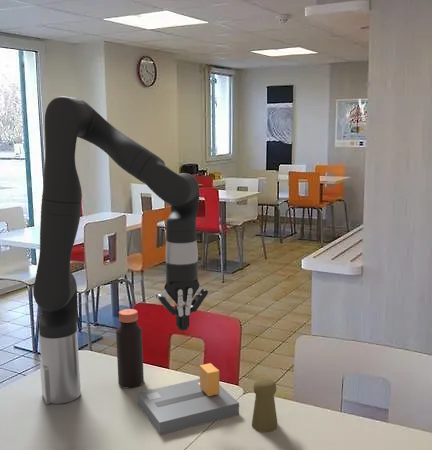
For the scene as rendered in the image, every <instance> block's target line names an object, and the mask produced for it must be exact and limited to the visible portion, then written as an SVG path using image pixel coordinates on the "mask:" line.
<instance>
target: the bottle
mask: <svg viewBox="0 0 432 450" xmlns="http://www.w3.org/2000/svg"><path fill="white" fill-rule="evenodd" d="M138 313H139V312H138V310H136V309H134V308H125V309H121V310H119V311H118V321H119V324H120V325H119V326H118V327H117V328H116V330H115V337H116V356H117V362H116V363H117V381H118V385H119V386H120V387H122V388H125V389H133V388H134V389H135V388H138V387H140V386H141V385H142V384H143V383H144V381H145V379H144V377H145V376H144V356H143V355H144V353H143V352H144V351H143V330H142V327H141V326H140V325H139V324H138V322H139V321H138V320H139V314H138Z"/></svg>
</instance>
